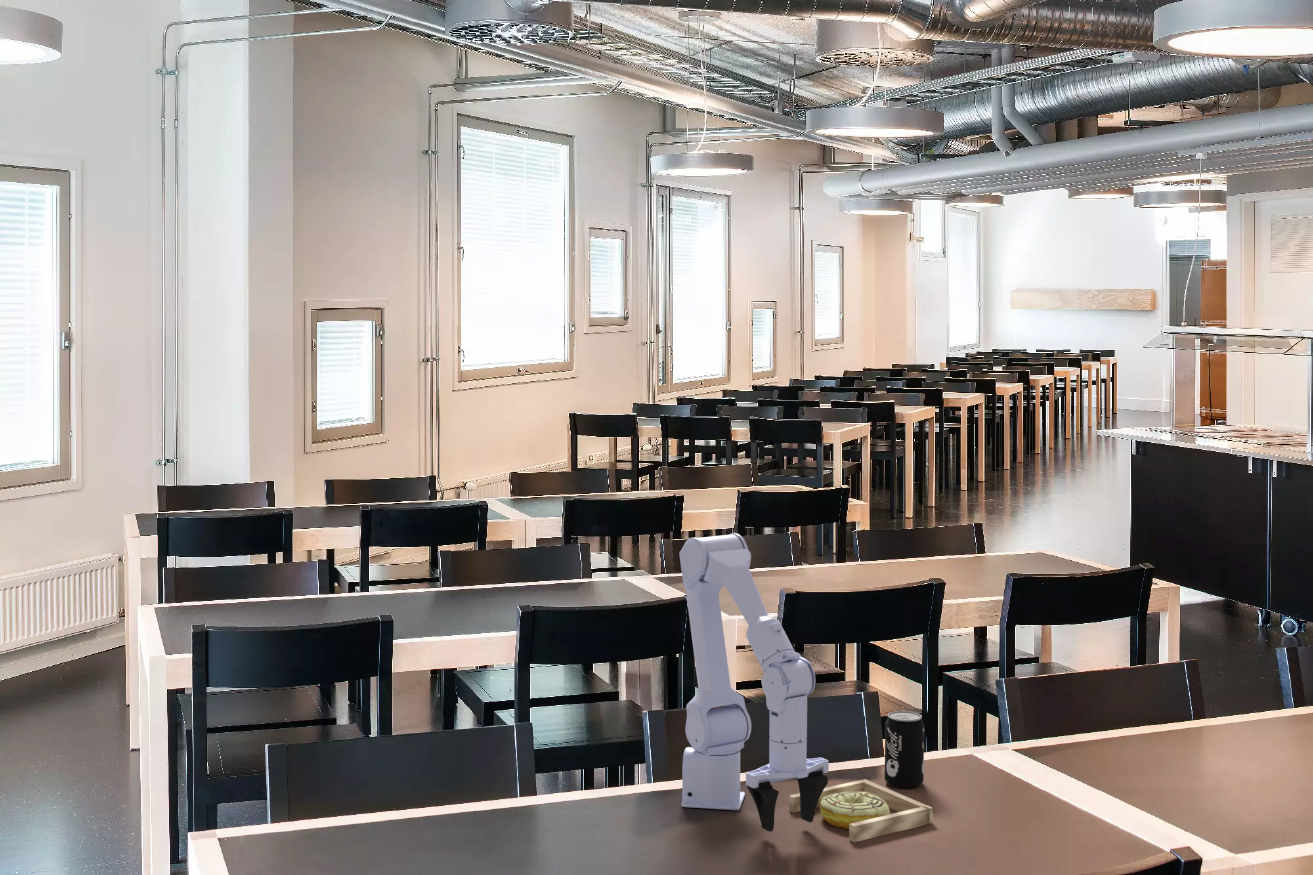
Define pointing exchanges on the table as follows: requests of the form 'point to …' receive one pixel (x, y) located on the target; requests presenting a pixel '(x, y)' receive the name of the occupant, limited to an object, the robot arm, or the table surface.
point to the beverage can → (904, 749)
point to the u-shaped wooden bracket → (906, 818)
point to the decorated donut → (852, 808)
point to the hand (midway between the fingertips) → (787, 824)
